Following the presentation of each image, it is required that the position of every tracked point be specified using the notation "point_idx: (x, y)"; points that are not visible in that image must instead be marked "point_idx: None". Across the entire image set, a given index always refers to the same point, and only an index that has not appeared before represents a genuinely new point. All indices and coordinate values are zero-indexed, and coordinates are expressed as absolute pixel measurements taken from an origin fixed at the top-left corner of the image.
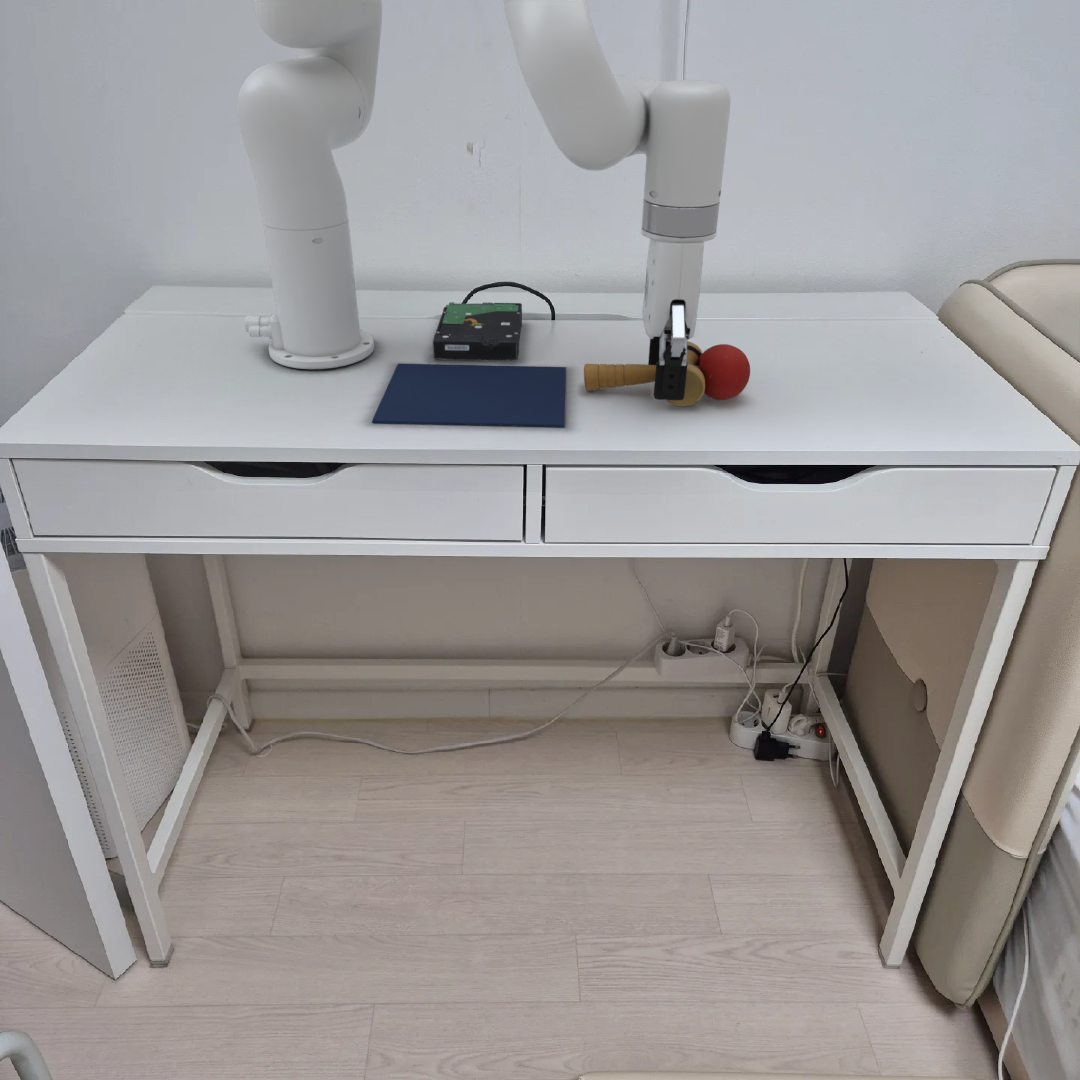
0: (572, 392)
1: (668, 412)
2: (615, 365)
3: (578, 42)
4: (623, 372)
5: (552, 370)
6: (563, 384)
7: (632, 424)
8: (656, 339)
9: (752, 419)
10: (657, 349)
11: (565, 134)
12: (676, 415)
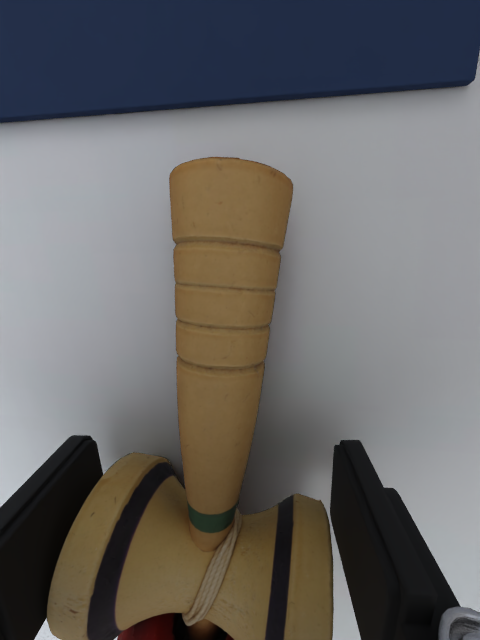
0: (209, 140)
1: (107, 442)
2: (215, 330)
3: None
4: (181, 359)
5: (433, 2)
6: (258, 86)
7: (5, 349)
8: (380, 593)
9: None
10: (357, 537)
11: None
12: None
